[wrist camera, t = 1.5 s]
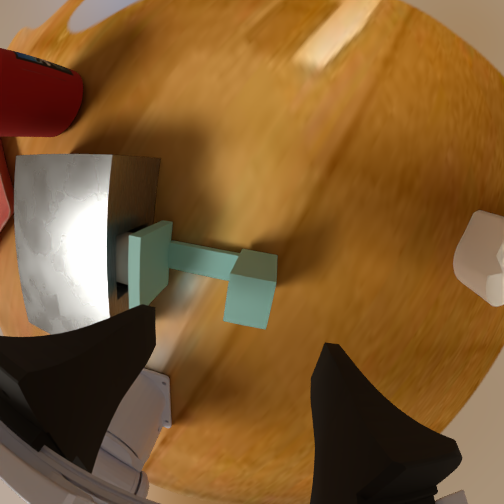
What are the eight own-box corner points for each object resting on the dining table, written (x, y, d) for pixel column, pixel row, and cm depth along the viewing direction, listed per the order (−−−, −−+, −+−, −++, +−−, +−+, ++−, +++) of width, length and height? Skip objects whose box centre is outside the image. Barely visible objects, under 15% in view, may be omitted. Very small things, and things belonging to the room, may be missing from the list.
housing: (150, 321, 23) (115, 363, 17) (69, 294, 23) (29, 321, 17) (160, 158, 19) (112, 154, 12) (68, 154, 19) (16, 155, 13)
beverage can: (85, 59, 16) (-7, 25, 5) (93, 116, 18) (-18, 99, 7) (40, 95, 18) (-47, 85, 6) (46, 149, 19) (-52, 156, 8)
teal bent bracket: (267, 302, 21) (262, 343, 16) (103, 265, 21) (65, 288, 16) (280, 240, 19) (280, 264, 14) (104, 209, 20) (61, 221, 15)
